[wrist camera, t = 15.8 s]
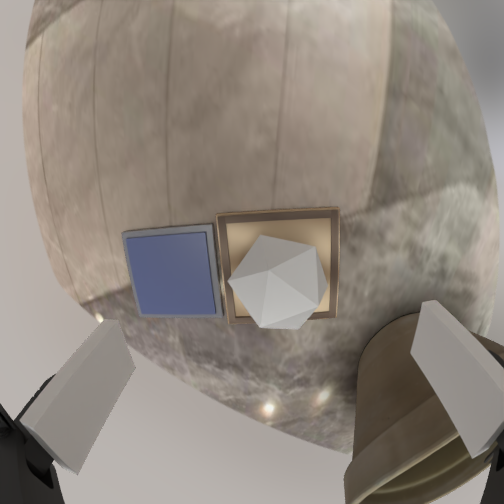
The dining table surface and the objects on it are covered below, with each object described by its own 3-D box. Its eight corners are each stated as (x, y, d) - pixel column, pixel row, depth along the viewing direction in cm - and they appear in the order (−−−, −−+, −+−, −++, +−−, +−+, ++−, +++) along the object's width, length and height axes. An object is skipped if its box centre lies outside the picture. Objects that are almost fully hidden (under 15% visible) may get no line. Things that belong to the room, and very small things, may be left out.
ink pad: (124, 231, 30) (119, 233, 29) (213, 223, 29) (210, 225, 28) (141, 314, 33) (138, 318, 32) (223, 314, 32) (222, 319, 31)
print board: (216, 213, 29) (215, 214, 28) (338, 207, 28) (340, 208, 27) (228, 321, 32) (227, 325, 31) (335, 315, 31) (337, 318, 31)
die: (252, 313, 32) (311, 358, 24) (198, 279, 26) (257, 333, 19) (293, 254, 33) (360, 285, 25) (248, 210, 27) (324, 235, 19)
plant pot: (345, 429, 38) (368, 531, 17) (291, 334, 32) (310, 498, 12) (465, 363, 34) (523, 441, 13) (455, 245, 28) (576, 316, 7)
